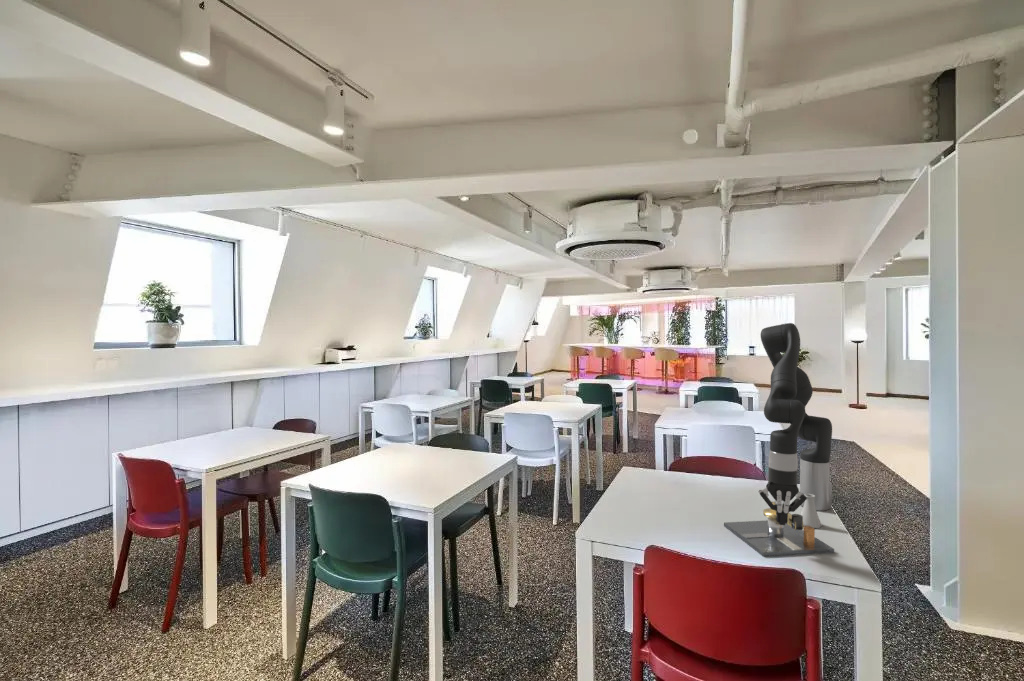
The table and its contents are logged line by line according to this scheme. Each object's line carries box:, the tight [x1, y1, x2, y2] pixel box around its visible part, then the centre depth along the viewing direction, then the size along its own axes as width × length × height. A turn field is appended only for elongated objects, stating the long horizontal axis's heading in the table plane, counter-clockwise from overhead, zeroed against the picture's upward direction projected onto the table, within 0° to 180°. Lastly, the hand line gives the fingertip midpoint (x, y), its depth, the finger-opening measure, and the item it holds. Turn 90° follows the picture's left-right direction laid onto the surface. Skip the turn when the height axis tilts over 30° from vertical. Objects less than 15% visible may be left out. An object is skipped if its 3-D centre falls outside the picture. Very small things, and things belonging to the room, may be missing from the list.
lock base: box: [723, 517, 835, 558], centre depth 156 cm, size 22×22×7 cm
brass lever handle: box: [762, 501, 804, 530], centre depth 152 cm, size 15×7×4 cm, turn 4°
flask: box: [799, 494, 823, 529], centre depth 167 cm, size 7×7×10 cm
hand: (781, 524), depth 148 cm, fingers closed
